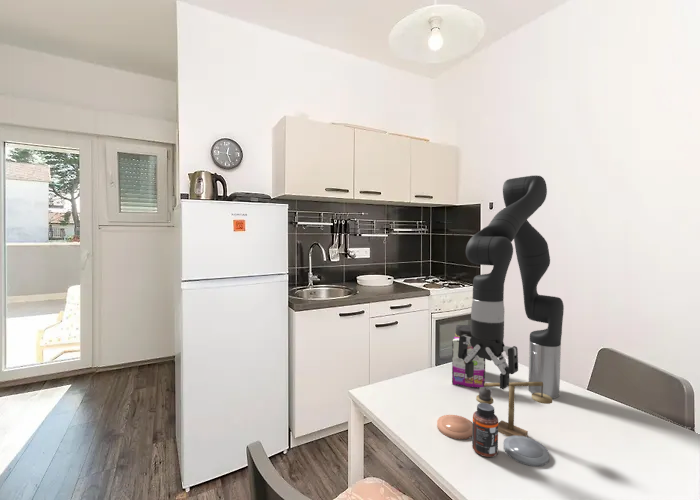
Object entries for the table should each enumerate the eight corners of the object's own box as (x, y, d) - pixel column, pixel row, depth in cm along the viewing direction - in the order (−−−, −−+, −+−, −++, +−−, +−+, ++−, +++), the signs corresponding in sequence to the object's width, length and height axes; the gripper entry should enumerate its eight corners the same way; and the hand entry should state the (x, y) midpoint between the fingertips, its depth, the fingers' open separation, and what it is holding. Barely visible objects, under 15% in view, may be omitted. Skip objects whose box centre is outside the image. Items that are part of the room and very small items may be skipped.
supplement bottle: (500, 460, 81) (501, 414, 80) (474, 456, 82) (474, 411, 81) (494, 444, 86) (495, 401, 86) (470, 441, 88) (471, 399, 87)
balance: (480, 415, 100) (481, 360, 100) (553, 446, 86) (555, 382, 85) (472, 420, 97) (473, 364, 97) (547, 454, 83) (549, 387, 82)
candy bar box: (485, 384, 121) (486, 339, 120) (485, 390, 117) (485, 343, 116) (452, 379, 125) (453, 335, 125) (451, 384, 121) (452, 339, 120)
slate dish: (513, 435, 90) (513, 430, 90) (555, 453, 83) (555, 448, 83) (496, 450, 84) (496, 445, 84) (539, 472, 76) (539, 466, 76)
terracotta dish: (449, 414, 101) (449, 410, 101) (481, 429, 93) (481, 424, 93) (429, 427, 94) (430, 423, 94) (462, 444, 87) (462, 439, 86)
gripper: (524, 320, 80) (522, 387, 80) (468, 310, 90) (467, 369, 91) (510, 326, 75) (508, 397, 75) (453, 314, 85) (452, 377, 86)
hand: (485, 382), depth 83 cm, fingers open, 8 cm apart
